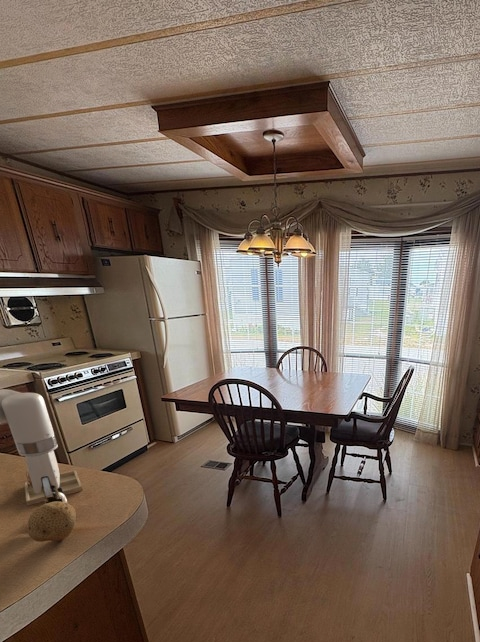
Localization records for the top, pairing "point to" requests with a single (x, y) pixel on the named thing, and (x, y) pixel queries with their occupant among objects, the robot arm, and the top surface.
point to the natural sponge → (51, 522)
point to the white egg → (62, 497)
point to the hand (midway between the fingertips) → (57, 506)
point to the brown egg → (29, 479)
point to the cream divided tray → (67, 483)
